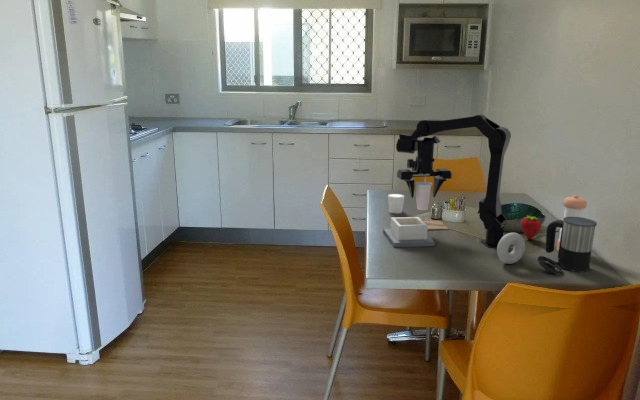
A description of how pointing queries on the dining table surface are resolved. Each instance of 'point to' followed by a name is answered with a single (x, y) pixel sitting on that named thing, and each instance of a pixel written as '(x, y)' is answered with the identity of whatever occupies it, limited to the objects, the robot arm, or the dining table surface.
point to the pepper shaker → (572, 209)
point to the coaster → (435, 225)
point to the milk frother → (570, 245)
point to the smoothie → (423, 194)
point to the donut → (505, 244)
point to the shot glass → (395, 203)
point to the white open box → (408, 232)
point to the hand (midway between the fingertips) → (423, 197)
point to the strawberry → (530, 226)
